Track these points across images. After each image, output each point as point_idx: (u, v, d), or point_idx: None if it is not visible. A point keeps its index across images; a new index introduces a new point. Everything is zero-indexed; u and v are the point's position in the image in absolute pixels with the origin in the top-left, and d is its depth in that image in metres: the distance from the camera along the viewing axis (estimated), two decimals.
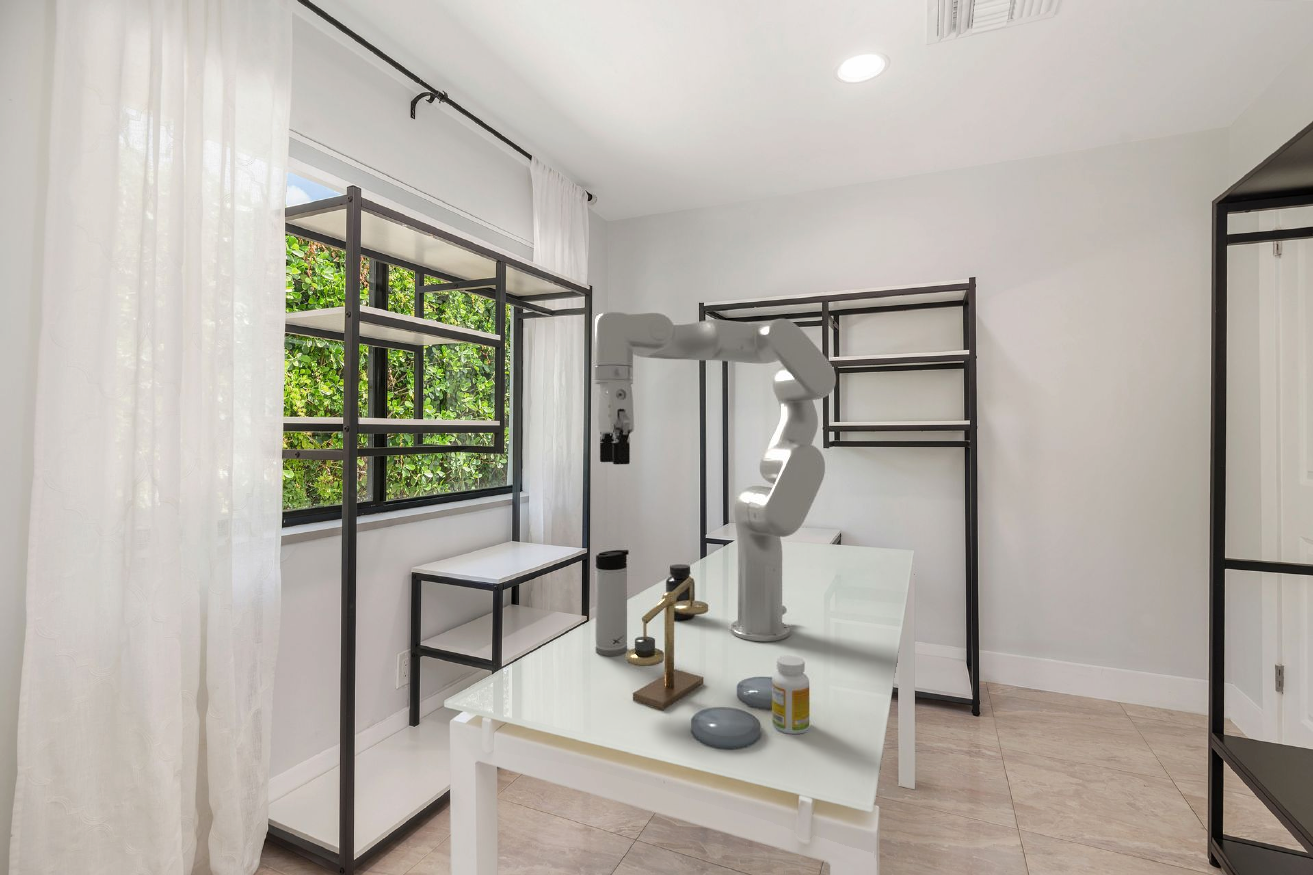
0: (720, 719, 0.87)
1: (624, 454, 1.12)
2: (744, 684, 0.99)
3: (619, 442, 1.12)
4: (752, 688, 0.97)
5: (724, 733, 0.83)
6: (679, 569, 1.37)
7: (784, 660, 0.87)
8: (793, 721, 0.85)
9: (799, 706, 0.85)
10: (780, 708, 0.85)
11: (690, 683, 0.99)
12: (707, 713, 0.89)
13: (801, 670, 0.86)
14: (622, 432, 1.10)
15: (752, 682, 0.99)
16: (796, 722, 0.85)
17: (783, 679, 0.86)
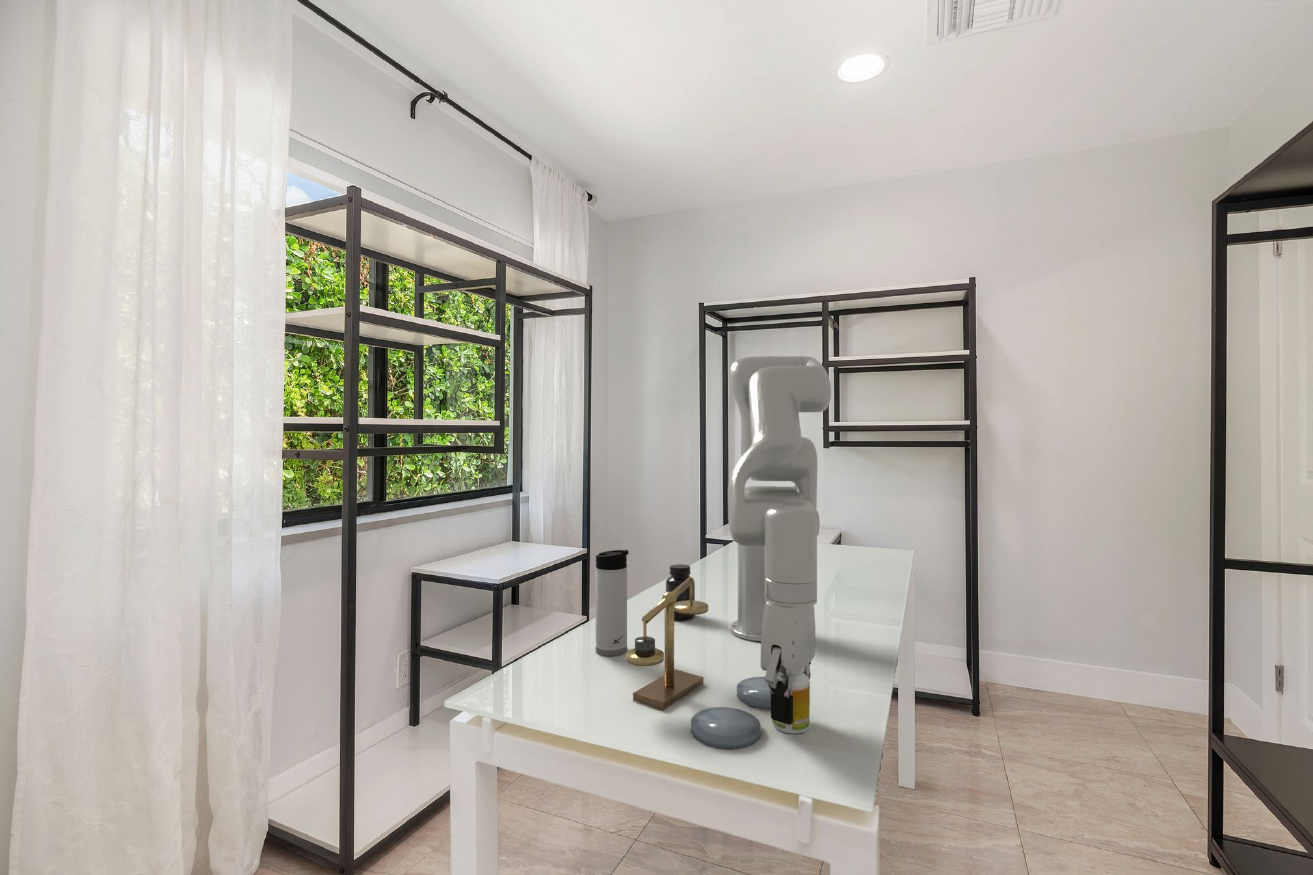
0: (720, 719, 0.87)
1: None
2: (744, 684, 0.99)
3: None
4: (752, 688, 0.97)
5: (724, 733, 0.83)
6: (679, 569, 1.37)
7: None
8: (793, 721, 0.85)
9: (799, 706, 0.85)
10: None
11: (690, 683, 0.99)
12: (707, 713, 0.89)
13: (801, 670, 0.86)
14: None
15: (752, 682, 0.99)
16: (796, 722, 0.85)
17: (783, 679, 0.86)
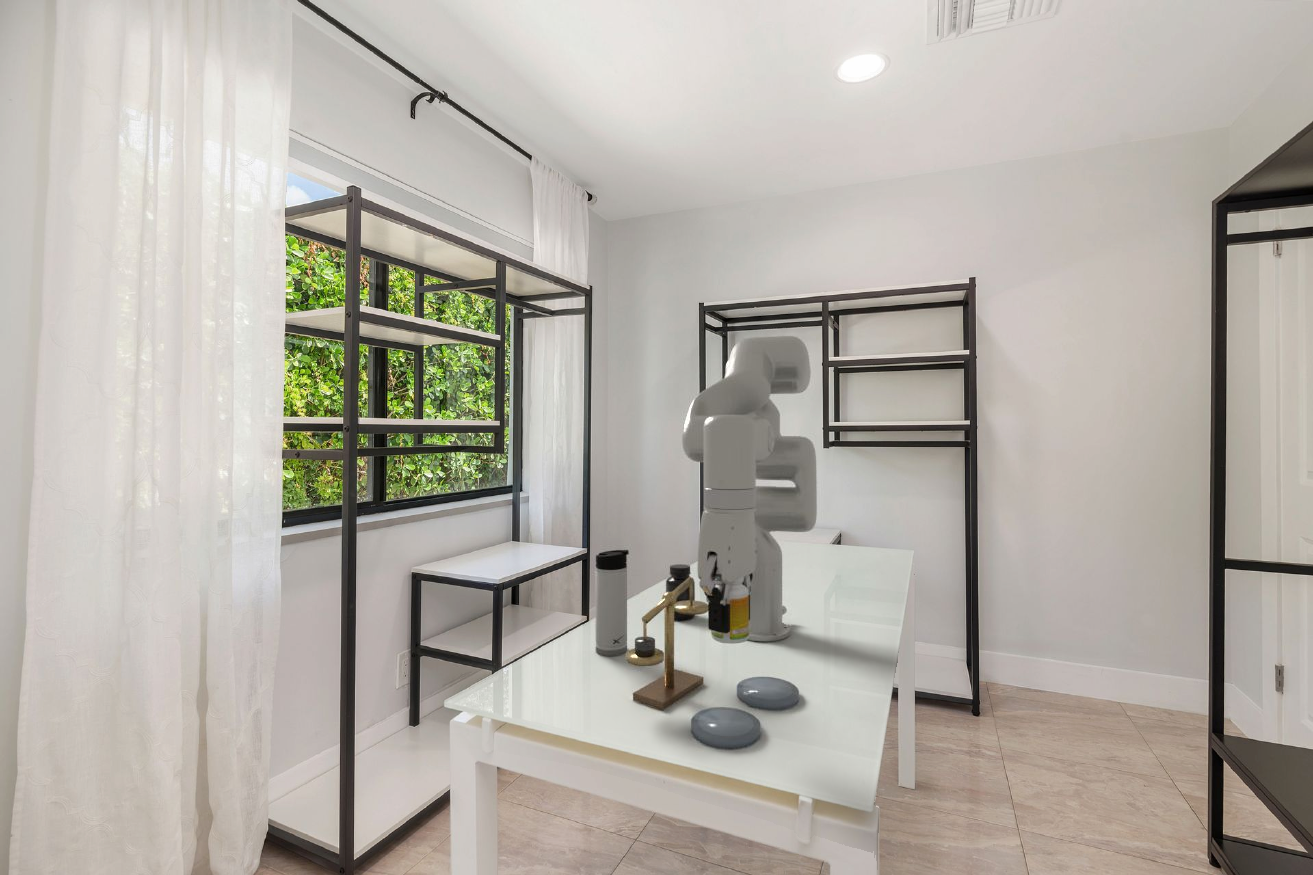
0: (720, 719, 0.87)
1: None
2: (744, 684, 0.99)
3: None
4: (752, 688, 0.97)
5: (724, 733, 0.83)
6: (679, 569, 1.37)
7: None
8: (731, 631, 0.83)
9: (737, 615, 0.83)
10: None
11: (690, 683, 0.99)
12: (707, 713, 0.89)
13: (739, 580, 0.84)
14: None
15: (752, 682, 0.99)
16: (733, 631, 0.83)
17: (721, 589, 0.84)
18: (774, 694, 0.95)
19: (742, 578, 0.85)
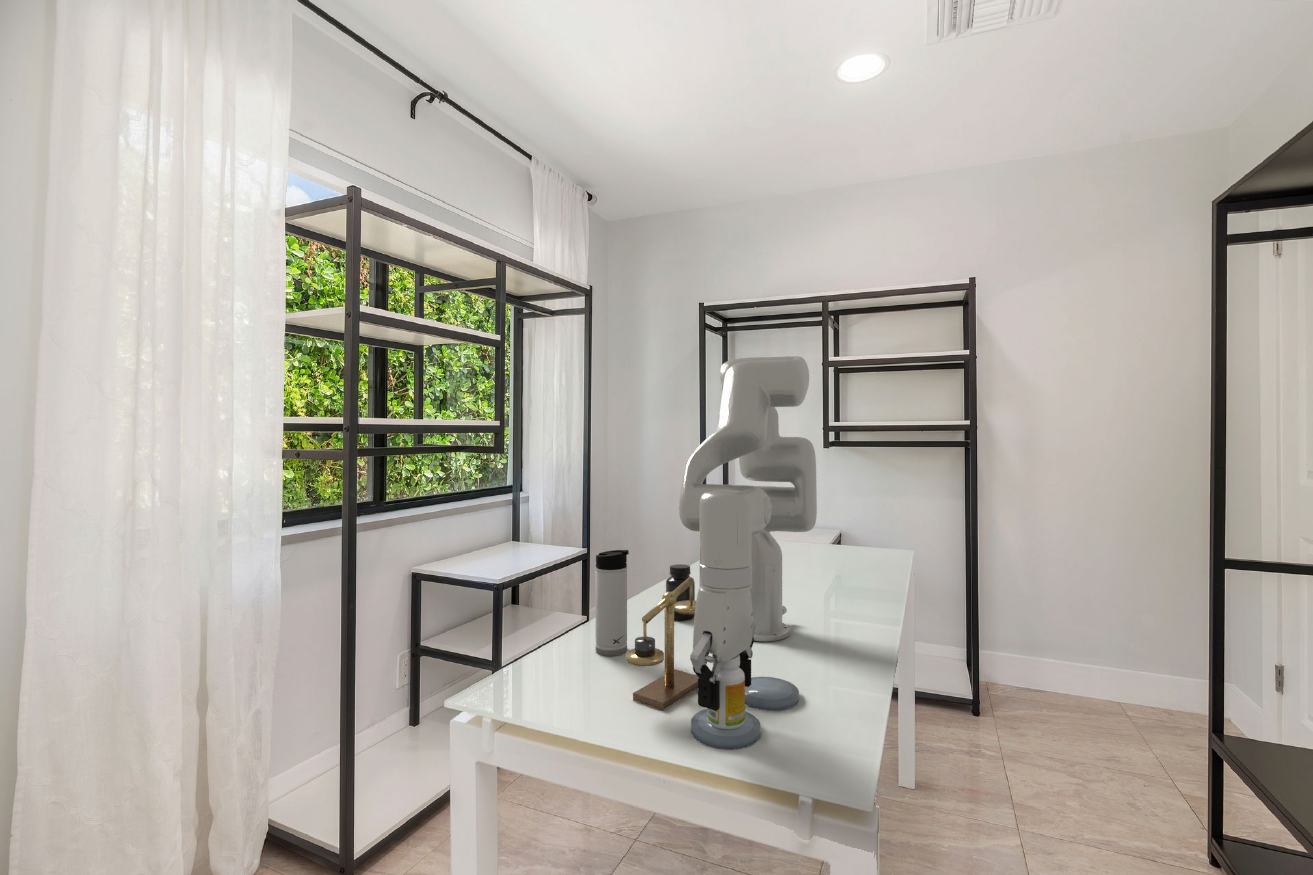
0: None
1: None
2: None
3: None
4: (752, 688, 0.97)
5: (724, 733, 0.83)
6: (679, 569, 1.37)
7: None
8: (727, 717, 0.83)
9: (733, 701, 0.83)
10: None
11: (690, 683, 0.99)
12: None
13: (735, 665, 0.84)
14: None
15: (752, 682, 0.99)
16: (729, 717, 0.83)
17: None
18: (774, 694, 0.95)
19: (738, 663, 0.85)
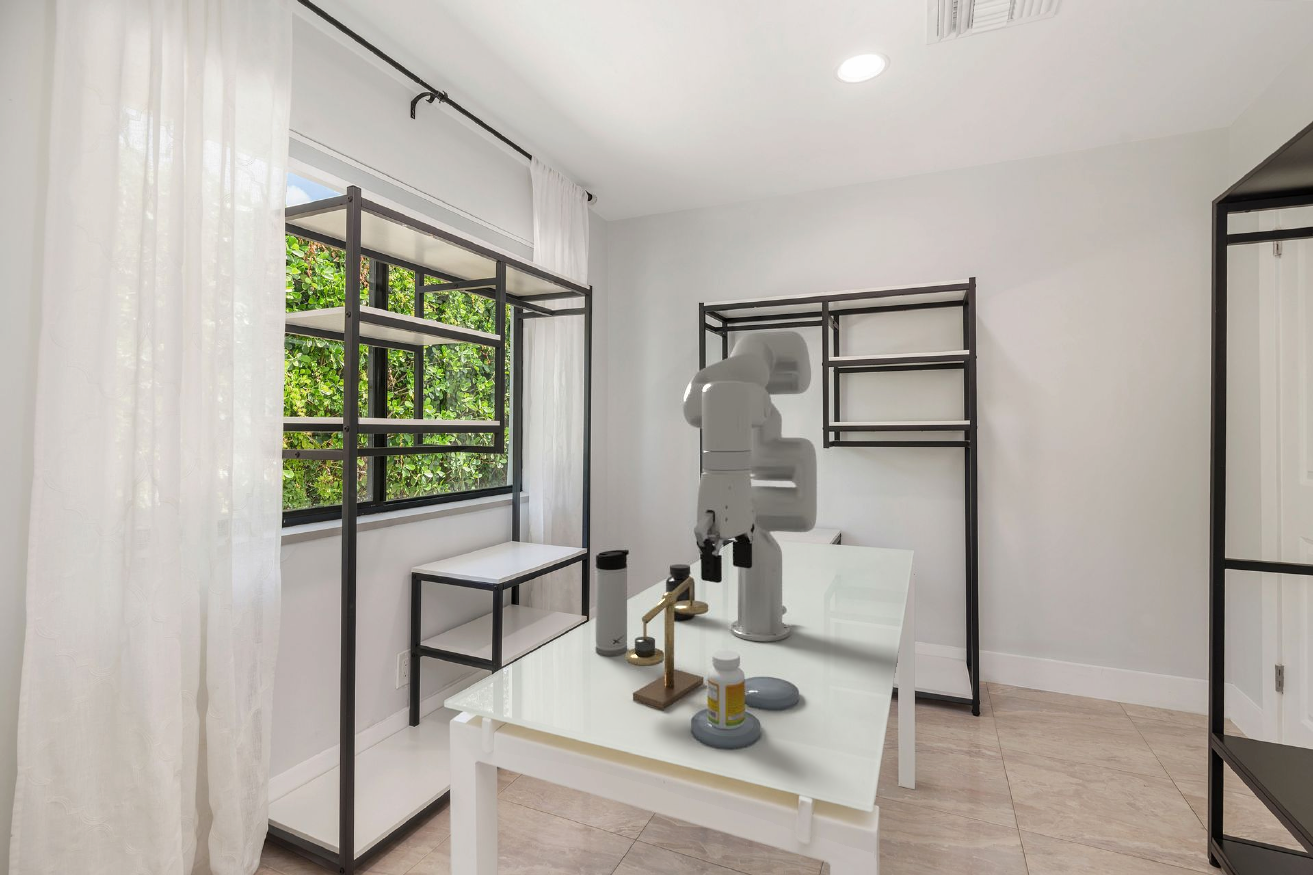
0: None
1: None
2: None
3: None
4: (752, 688, 0.97)
5: (724, 733, 0.83)
6: (679, 569, 1.37)
7: (719, 654, 0.86)
8: (727, 717, 0.83)
9: (733, 701, 0.83)
10: (714, 703, 0.84)
11: (690, 683, 0.99)
12: None
13: (735, 665, 0.84)
14: None
15: (752, 682, 0.99)
16: (729, 717, 0.83)
17: (717, 674, 0.84)
18: (774, 694, 0.95)
19: (738, 663, 0.85)
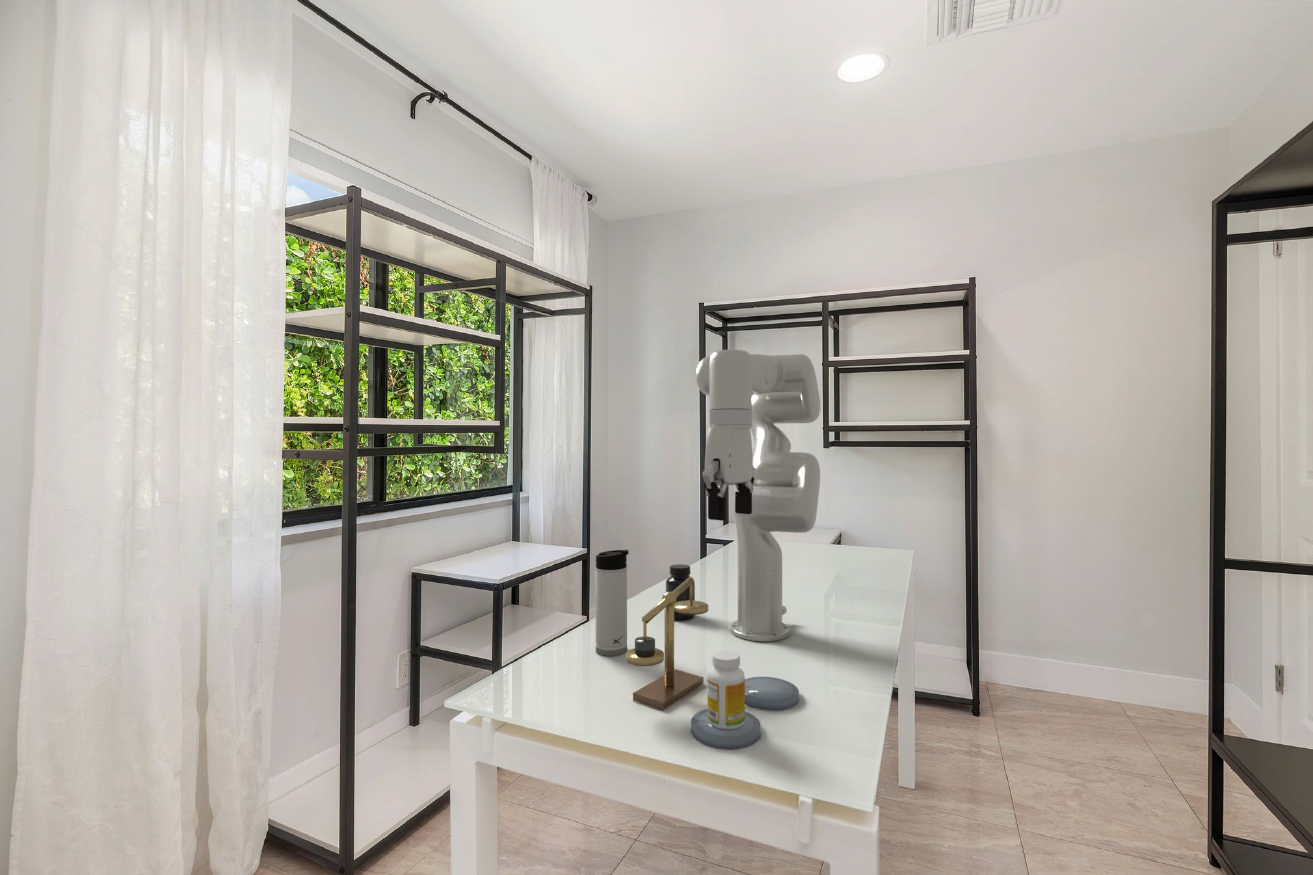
0: None
1: None
2: None
3: None
4: (752, 688, 0.97)
5: (724, 733, 0.83)
6: (679, 569, 1.37)
7: (720, 654, 0.86)
8: (727, 717, 0.83)
9: (733, 701, 0.83)
10: (714, 703, 0.84)
11: (690, 683, 0.99)
12: None
13: (735, 665, 0.84)
14: None
15: (752, 682, 0.99)
16: (729, 717, 0.83)
17: (717, 674, 0.84)
18: (774, 694, 0.95)
19: (738, 663, 0.85)
